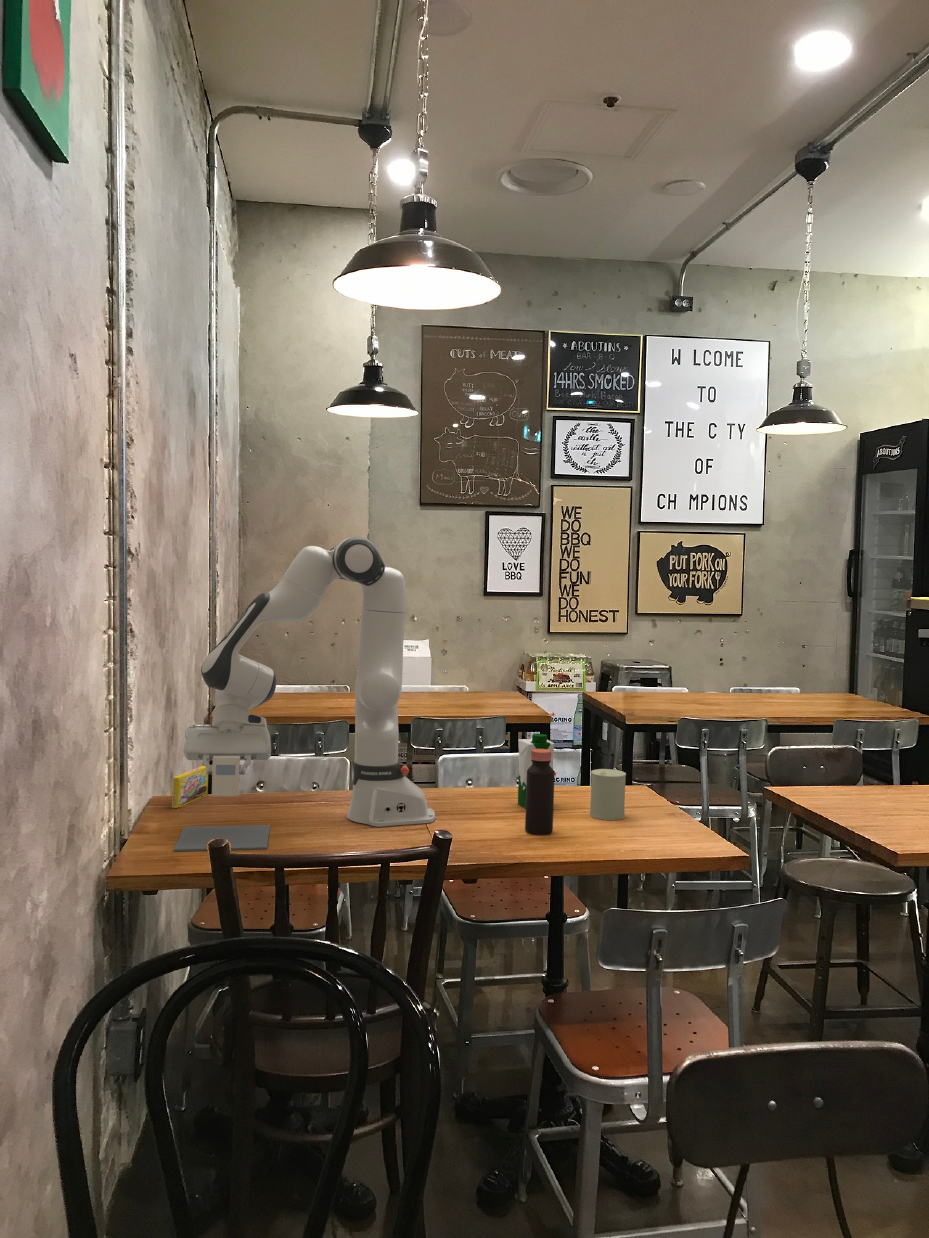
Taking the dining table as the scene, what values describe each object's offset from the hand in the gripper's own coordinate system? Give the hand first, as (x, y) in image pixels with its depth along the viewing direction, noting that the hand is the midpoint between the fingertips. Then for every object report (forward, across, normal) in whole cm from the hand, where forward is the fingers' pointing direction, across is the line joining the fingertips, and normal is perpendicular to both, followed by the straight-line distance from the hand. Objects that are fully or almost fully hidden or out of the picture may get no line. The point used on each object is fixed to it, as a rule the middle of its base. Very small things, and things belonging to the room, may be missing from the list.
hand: (225, 773), depth 211 cm
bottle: (+13, +75, +6) cm, 77 cm away
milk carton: (-4, +80, +23) cm, 84 cm away
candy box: (-12, -12, +33) cm, 37 cm away
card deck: (+3, 0, +4) cm, 5 cm away
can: (+4, +97, +16) cm, 99 cm away
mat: (+13, 0, +7) cm, 15 cm away
